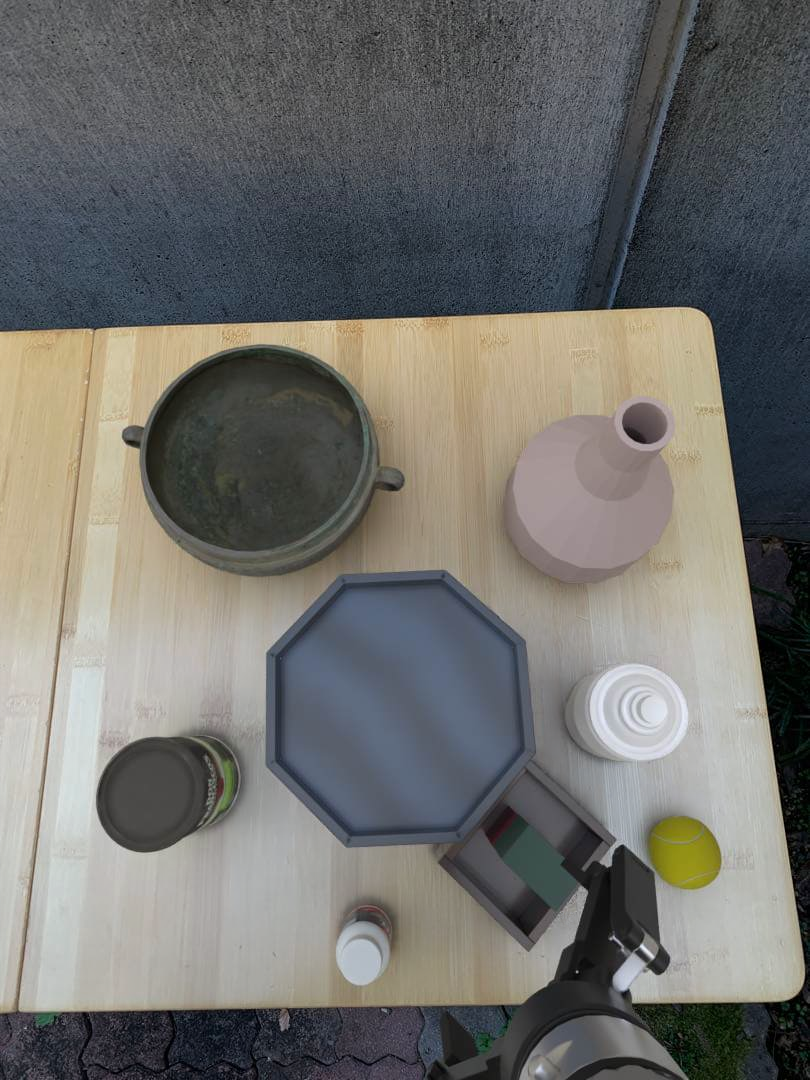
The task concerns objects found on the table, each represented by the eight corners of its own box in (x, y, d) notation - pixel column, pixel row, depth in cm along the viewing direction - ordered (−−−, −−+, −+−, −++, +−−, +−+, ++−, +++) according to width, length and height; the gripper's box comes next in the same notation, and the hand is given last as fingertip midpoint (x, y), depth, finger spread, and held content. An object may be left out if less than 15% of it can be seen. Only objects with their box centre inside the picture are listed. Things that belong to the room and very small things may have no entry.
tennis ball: (631, 822, 76) (652, 833, 69) (689, 804, 76) (716, 812, 69) (654, 888, 74) (678, 906, 67) (714, 869, 74) (744, 885, 68)
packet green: (541, 892, 67) (555, 912, 60) (492, 845, 68) (500, 859, 61) (567, 860, 68) (584, 876, 61) (518, 813, 69) (529, 824, 62)
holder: (518, 931, 73) (528, 952, 67) (435, 849, 75) (437, 862, 69) (599, 828, 76) (617, 839, 69) (516, 752, 78) (526, 755, 71)
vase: (633, 459, 87) (742, 329, 58) (641, 595, 82) (764, 529, 53) (495, 455, 87) (535, 325, 58) (496, 591, 83) (539, 524, 54)
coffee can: (244, 734, 79) (209, 737, 65) (237, 829, 76) (199, 854, 63) (156, 732, 79) (102, 736, 65) (146, 828, 76) (88, 852, 63)
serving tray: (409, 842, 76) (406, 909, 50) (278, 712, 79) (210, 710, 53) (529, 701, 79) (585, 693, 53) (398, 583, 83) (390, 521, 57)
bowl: (423, 417, 89) (424, 358, 74) (386, 613, 82) (380, 591, 68) (184, 379, 90) (140, 315, 76) (130, 568, 84) (71, 537, 70)
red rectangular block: (529, 876, 74) (541, 893, 67) (484, 834, 75) (491, 845, 68) (552, 847, 75) (566, 860, 68) (508, 805, 76) (517, 814, 69)
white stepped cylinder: (571, 783, 77) (642, 813, 53) (527, 696, 79) (576, 686, 55) (660, 738, 78) (770, 747, 54) (614, 653, 81) (699, 625, 56)
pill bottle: (402, 925, 74) (400, 955, 64) (373, 970, 72) (366, 1008, 63) (362, 893, 74) (354, 918, 65) (332, 937, 73) (320, 969, 64)
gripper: (699, 814, 32) (585, 778, 53) (332, 1306, 27) (363, 1056, 48) (835, 933, 31) (663, 849, 51) (473, 1473, 26) (443, 1142, 46)
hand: (518, 949), depth 50 cm, fingers open, 13 cm apart
